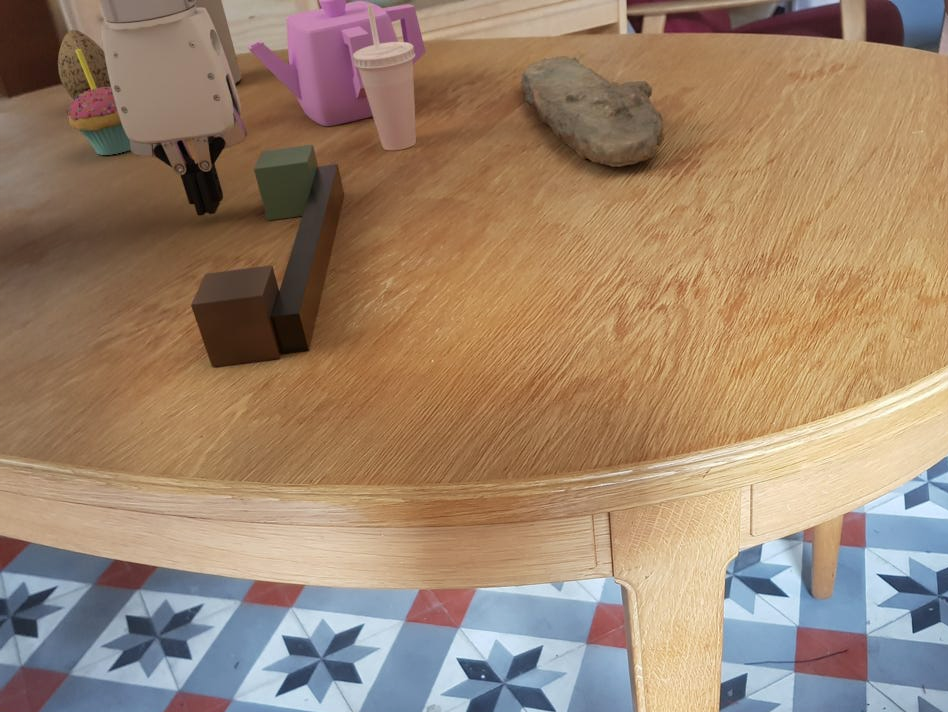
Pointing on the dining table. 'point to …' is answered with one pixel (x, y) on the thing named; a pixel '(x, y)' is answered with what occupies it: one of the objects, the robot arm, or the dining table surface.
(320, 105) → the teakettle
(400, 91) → the smoothie
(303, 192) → the green block
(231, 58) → the travel mug
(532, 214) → the dining table surface
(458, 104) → the dining table surface
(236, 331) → the walnut block
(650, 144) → the long grey stone
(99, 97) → the cupcake
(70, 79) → the decorative egg
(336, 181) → the rail
